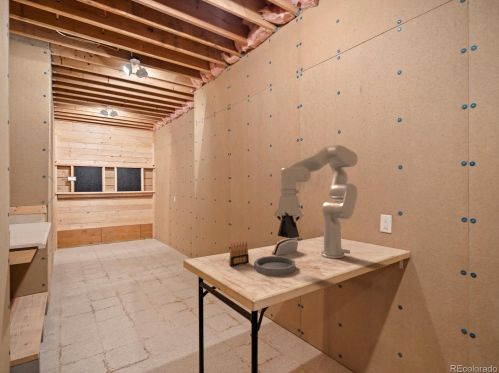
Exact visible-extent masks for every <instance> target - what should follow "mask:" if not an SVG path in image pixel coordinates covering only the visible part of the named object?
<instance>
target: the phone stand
mask: <svg viewBox="0 0 499 373" xmlns="http://www.w3.org/2000/svg"><path fill="white" fill-rule="evenodd" d="M285 214H286V216H284V217H283V216H282V220H281V221H280V224H279V227H278V228H279V229H278V233H277V237H282V238H284V239H287V238H290V239H291V238H292V239H296V238H300V232H299V230H298V226H297V225H296V228H295V226H294V227H293V221H294V219H293V216H289V214H288V213H285ZM283 222H284V230H282V224H283Z"/></svg>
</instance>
